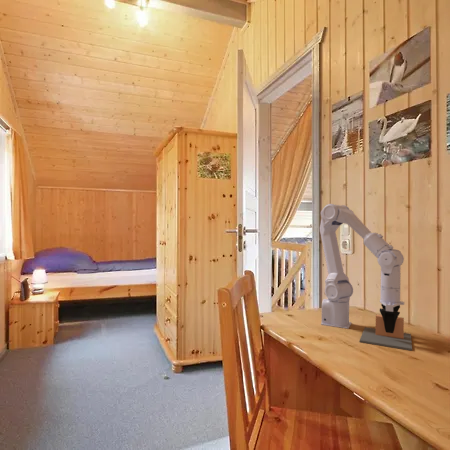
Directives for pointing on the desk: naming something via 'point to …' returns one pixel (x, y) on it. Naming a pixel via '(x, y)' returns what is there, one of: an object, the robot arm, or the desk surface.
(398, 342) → the mat
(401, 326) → the slab
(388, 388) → the desk surface
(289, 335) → the desk surface
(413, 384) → the desk surface
